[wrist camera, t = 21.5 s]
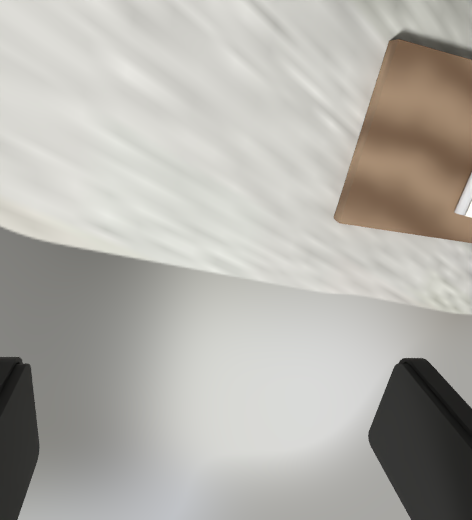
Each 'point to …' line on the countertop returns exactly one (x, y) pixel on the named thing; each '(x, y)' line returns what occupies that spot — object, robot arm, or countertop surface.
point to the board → (413, 147)
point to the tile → (465, 200)
